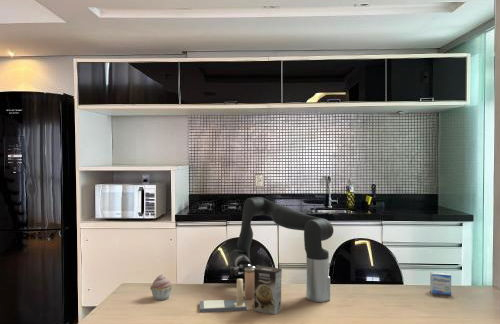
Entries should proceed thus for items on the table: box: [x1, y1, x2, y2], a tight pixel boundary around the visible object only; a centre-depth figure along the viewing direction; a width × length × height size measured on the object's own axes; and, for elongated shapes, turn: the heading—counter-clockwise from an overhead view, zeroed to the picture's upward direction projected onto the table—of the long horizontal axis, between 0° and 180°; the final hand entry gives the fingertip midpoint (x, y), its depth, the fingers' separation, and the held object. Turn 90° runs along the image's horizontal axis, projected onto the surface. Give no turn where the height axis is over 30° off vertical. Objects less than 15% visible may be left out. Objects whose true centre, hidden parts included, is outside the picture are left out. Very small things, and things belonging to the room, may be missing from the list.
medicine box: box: [429, 271, 452, 296], centre depth 175 cm, size 8×4×9 cm, turn 73°
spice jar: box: [244, 267, 256, 300], centre depth 168 cm, size 5×5×12 cm
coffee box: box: [253, 265, 283, 315], centre depth 153 cm, size 9×6×16 cm
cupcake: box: [149, 274, 173, 301], centre depth 167 cm, size 9×9×10 cm
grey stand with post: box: [199, 278, 248, 313], centre depth 157 cm, size 18×9×11 cm, turn 97°
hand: (247, 273), depth 179 cm, fingers open, 8 cm apart
